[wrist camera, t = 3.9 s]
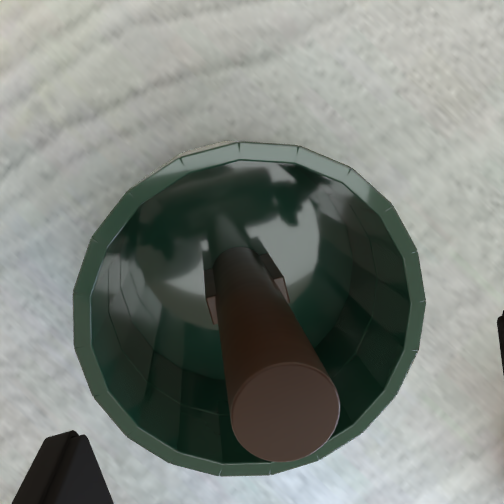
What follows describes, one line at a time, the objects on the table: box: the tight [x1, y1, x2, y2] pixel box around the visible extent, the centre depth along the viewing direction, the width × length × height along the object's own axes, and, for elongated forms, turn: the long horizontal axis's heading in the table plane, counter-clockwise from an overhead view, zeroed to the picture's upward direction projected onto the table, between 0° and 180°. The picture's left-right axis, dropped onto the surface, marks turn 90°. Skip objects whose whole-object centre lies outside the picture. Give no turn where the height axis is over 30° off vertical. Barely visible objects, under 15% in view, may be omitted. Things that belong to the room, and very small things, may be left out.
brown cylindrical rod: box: [204, 247, 340, 462], centre depth 17 cm, size 3×3×12 cm
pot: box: [73, 141, 426, 476], centre depth 20 cm, size 12×12×7 cm
